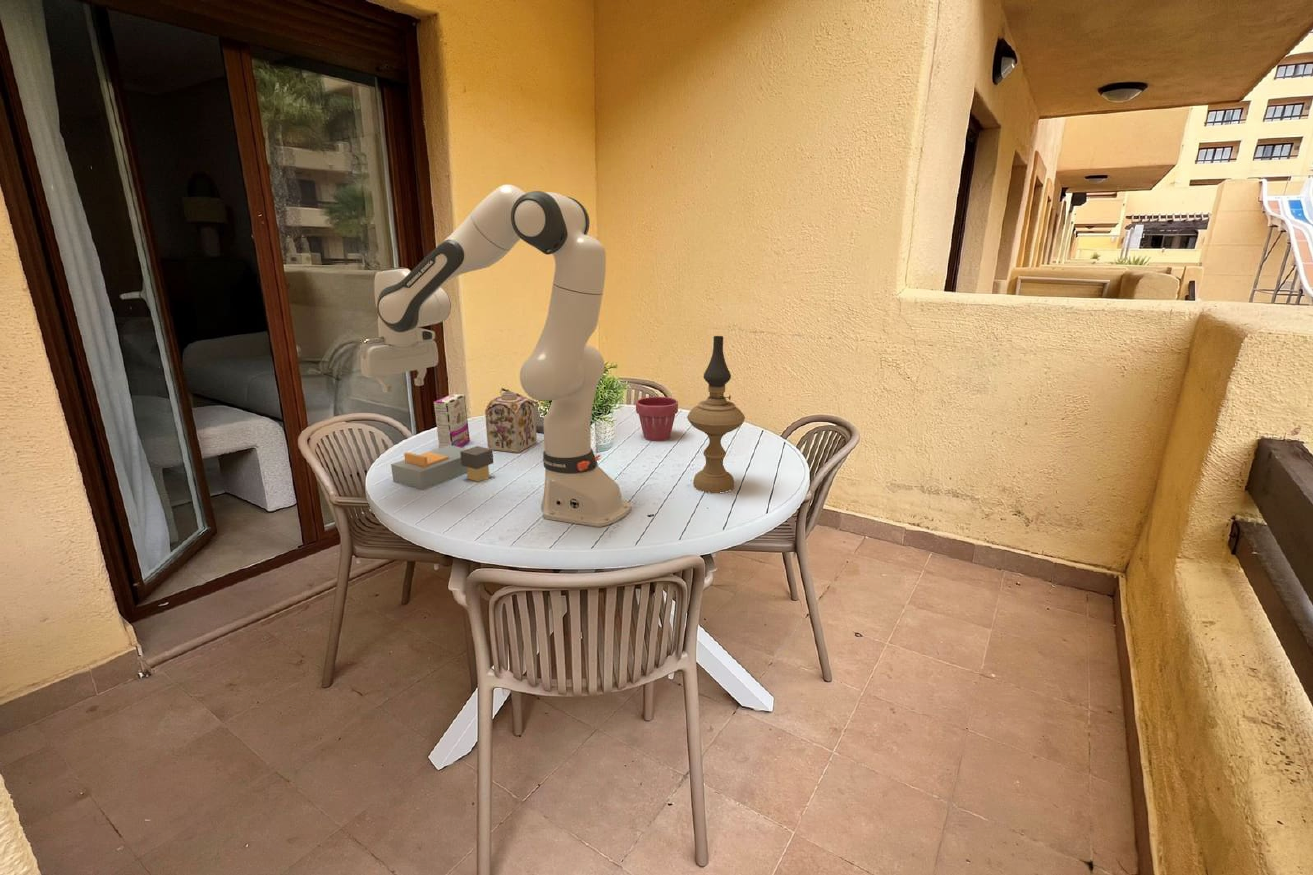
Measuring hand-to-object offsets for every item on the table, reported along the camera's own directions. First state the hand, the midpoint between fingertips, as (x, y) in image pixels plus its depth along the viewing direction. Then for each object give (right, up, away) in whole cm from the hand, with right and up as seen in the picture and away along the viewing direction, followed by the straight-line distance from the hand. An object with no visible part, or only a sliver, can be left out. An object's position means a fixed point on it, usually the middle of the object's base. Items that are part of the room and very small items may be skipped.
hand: (403, 388), depth 149 cm
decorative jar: (+18, -16, +40) cm, 47 cm away
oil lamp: (+80, -26, +8) cm, 85 cm away
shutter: (+1, -19, +12) cm, 22 cm away
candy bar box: (-1, -16, +40) cm, 43 cm away
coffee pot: (+20, -10, +60) cm, 64 cm away
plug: (+15, -24, +13) cm, 31 cm away
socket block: (+3, -23, +16) cm, 28 cm away
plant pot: (+65, -13, +51) cm, 83 cm away
